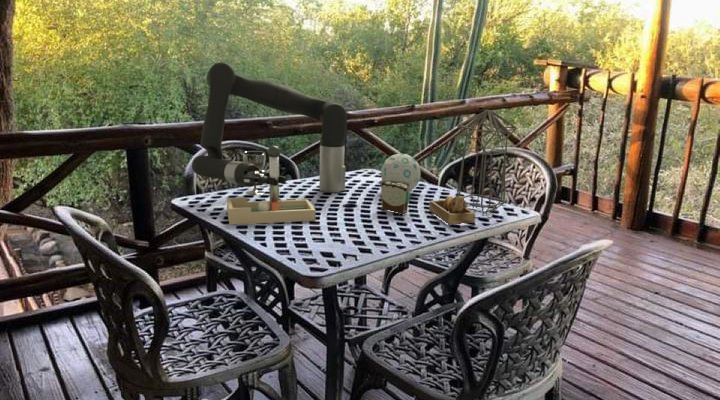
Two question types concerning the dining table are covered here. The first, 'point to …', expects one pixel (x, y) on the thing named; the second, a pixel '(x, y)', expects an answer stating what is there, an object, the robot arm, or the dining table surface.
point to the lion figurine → (455, 204)
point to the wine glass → (259, 161)
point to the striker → (274, 176)
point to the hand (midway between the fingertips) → (281, 181)
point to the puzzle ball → (401, 169)
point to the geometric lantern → (491, 119)
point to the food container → (395, 195)
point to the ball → (264, 205)
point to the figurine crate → (449, 218)
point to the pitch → (250, 214)
